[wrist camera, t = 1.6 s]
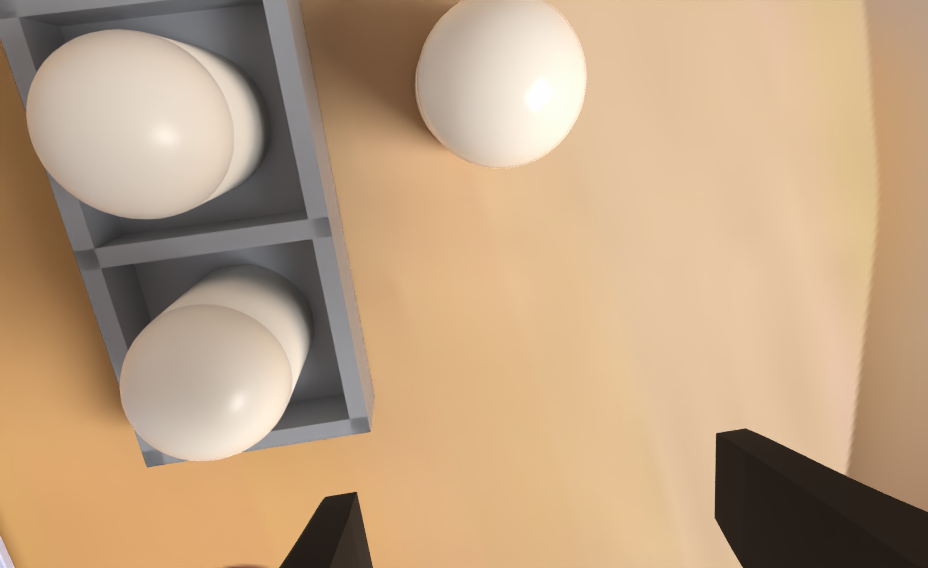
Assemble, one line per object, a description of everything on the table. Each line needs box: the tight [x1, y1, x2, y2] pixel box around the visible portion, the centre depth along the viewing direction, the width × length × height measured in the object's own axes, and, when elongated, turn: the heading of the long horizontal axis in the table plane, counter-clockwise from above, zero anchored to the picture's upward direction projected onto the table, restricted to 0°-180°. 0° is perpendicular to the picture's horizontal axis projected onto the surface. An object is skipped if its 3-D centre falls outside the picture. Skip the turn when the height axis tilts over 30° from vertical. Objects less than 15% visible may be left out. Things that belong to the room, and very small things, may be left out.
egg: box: [415, 0, 587, 169], centre depth 16 cm, size 4×4×6 cm
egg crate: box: [0, 0, 374, 467], centre depth 15 cm, size 7×21×7 cm, turn 7°
